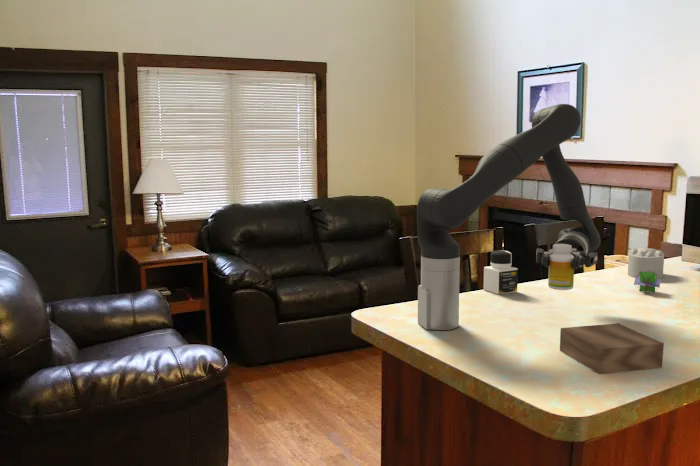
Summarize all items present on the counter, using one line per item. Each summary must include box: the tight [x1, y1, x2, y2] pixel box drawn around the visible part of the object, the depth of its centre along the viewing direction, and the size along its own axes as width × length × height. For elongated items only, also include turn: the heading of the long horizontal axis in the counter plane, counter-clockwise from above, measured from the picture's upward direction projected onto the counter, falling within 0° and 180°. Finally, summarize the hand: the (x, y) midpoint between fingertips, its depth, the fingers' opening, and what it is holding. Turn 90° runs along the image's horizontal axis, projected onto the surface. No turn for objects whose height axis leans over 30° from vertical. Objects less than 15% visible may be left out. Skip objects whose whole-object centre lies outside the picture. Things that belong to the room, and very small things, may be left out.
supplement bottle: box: [547, 243, 575, 291], centre depth 142 cm, size 5×5×10 cm
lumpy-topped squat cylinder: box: [627, 247, 665, 279], centre depth 207 cm, size 10×13×9 cm
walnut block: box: [559, 322, 665, 375], centre depth 130 cm, size 14×14×5 cm
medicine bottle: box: [483, 249, 519, 296], centre depth 188 cm, size 7×7×12 cm
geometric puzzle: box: [633, 270, 662, 295], centre depth 185 cm, size 7×7×8 cm
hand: (560, 263), depth 140 cm, fingers closed on supplement bottle, 5 cm apart
